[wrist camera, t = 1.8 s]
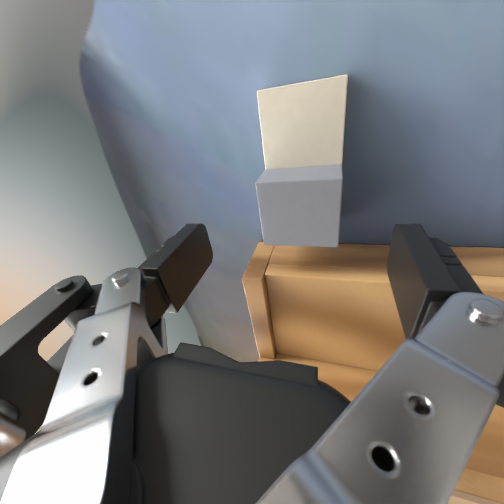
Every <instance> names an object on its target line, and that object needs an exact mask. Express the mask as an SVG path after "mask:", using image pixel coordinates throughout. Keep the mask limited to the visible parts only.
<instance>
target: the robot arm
mask: <svg viewBox="0 0 504 504" xmlns="http://www.w3.org/2000/svg"><path fill="white" fill-rule="evenodd" d="M212 259H213V252H212V248H211V244H210V241H209V237H208V234H207V230H206V227H205V226H204V224H186V225H185V226H184V227H183V228H182V229H181V230H180V231H179V232H178V233H177V234H176V235H174V236H173V237H171V238H169V239H168V240H167V241H166V242H165V243H164V244H163V245H162V246H160V247H159V248H158V249H157V250H156V252H154V253H153V254H152V255H151V256H150V257H149V258H148V259H147V260H146V261H145V262H144V263H142V264H141V265H140V266H139V267H138V268H126V269H122V270H120V271H117V272H115V273H114V274H112V275H110V276H109V277H108V278H107V279H106V280H105V281H104V282H103V284H98V285H92V286H91V285H90V284H89V282H88V281H87V279H86V278H85V277H84V276H73V277H70V278H67V279H64V280H62V281H60V282H59V283H57V284H55V285H54V286H52V287H51V288H50V289H48V290H47V291H46V292H44V293H43V294H42V295H40V296H39V297H38V298H36V299H35V300H34V301H32V302H31V303H30V304H28V305H27V306H26V307H25V308H23V309H22V310H21V311H19V312H18V313H17V314H16V315H14V316H13V317H11V318H10V319H9V320H7V321H6V322H5V323H4V324H2V325H1V326H0V504H448V502H449V500H450V498H451V496H452V494H453V492H454V489H455V487H456V485H457V483H458V481H459V479H460V477H461V475H462V473H463V471H464V469H465V467H466V465H467V462H468V460H469V458H470V456H471V454H472V452H473V450H474V448H475V446H476V444H477V442H478V440H479V438H480V435H481V433H482V431H483V429H484V427H485V425H486V423H487V421H488V419H489V417H490V415H491V413H492V411H493V408H494V406H495V404H496V405H498V406H500V407H503V408H504V302H503V301H501V300H499V299H497V298H494V297H491V296H488V295H485V294H483V292H482V291H481V290H480V288H479V287H478V285H477V284H476V282H475V281H474V280H473V278H472V277H471V275H470V274H469V273H468V271H467V270H466V268H465V267H464V266H462V263H461V261H460V260H459V258H457V256H456V254H455V253H454V251H453V250H452V249H451V247H450V246H449V245H447V244H445V243H444V242H442V241H441V240H439V239H438V238H429V237H428V236H427V234H426V232H425V231H424V229H423V227H422V226H421V225H420V224H396V225H395V227H394V230H393V235H392V239H391V244H390V249H389V254H388V259H387V274H388V278H389V281H390V285H391V289H392V292H393V296H394V299H395V303H396V306H397V310H398V314H399V317H400V321H401V324H402V328H403V332H404V335H405V339H406V340H405V341H404V342H403V343H402V344H401V345H400V346H399V347H398V349H397V350H396V351H395V352H394V353H393V354H392V356H391V357H390V358H389V359H388V360H387V361H386V362H385V364H384V365H383V366H382V367H381V368H380V369H379V371H378V372H377V373H376V374H375V375H374V376H373V377H372V379H371V380H370V381H369V382H368V383H367V384H366V386H365V387H364V388H363V389H362V390H361V391H360V392H359V394H358V395H357V396H356V397H355V398H354V399H353V401H352V402H351V401H350V400H349V399H348V398H347V397H345V396H344V395H343V394H342V393H340V392H339V391H338V390H336V389H335V388H333V387H332V386H330V385H328V384H327V383H325V382H323V381H321V380H318V367H315V366H309V365H304V364H298V363H293V362H287V361H282V360H273V361H259V362H238V361H235V360H233V359H231V358H229V357H227V356H225V355H224V354H222V353H220V352H218V351H216V350H214V349H212V348H209V347H204V346H198V345H192V344H187V343H180V344H179V346H178V348H177V349H176V351H175V353H171V354H168V347H167V337H166V325H165V319H164V317H163V314H164V313H165V311H166V312H173V313H178V311H179V309H180V308H181V307H182V305H183V304H184V302H185V301H186V299H187V298H188V296H189V295H190V293H191V292H192V291H193V289H194V288H195V286H196V285H197V283H198V282H199V280H200V279H201V277H202V276H203V274H204V273H205V271H206V270H207V269H208V267H209V266H210V264H211V262H212ZM63 320H65V322H66V323H67V324H68V325H69V326H70V327H71V328H72V330H73V331H74V334H73V336H72V337H71V338H70V339H69V340H68V341H67V342H66V343H65V344H64V345H63V346H62V347H61V348H60V349H59V350H58V351H57V352H56V353H55V354H54V355H53V356H52V357H51V358H50V359H49V360H48V361H47V362H46V361H45V360H44V359H43V358H42V357H41V356H40V355H39V354H38V346H39V344H40V342H41V341H42V340H43V338H45V337H46V336H47V335H48V334H49V333H50V332H51V331H52V330H53V329H54V328H55V327H56V326H58V325H59V324H60V323H61V322H62V321H63ZM42 424H43V426H42V428H41V430H40V431H39V432H37V433H36V431H37V430H38V429H39V428H40V426H41V425H42ZM35 433H36V434H35Z"/></svg>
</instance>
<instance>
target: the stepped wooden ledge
mask: <svg viewBox="0 0 504 504" xmlns="http://www.w3.org/2000/svg"><path fill="white" fill-rule="evenodd" d="M389 249H390V245H371V244H339V246H338V247H312V246H280V245H264V242H259V243H258V245H257V248H256V250H255V252H254V254H253V256H252V258H251V260H250V263H249V265H248V267H247V269H246V271H245V273H244V275H243V278H242V281H243V285H244V290H245V294H246V299H247V303H248V308H249V312H250V317H251V321H252V326H253V330H254V335H255V340H256V344H257V349H258V353H259V360H258V362H259V361H273V360H282V361H287V362H293V363H298V364H304V365H309V366H315V367H318V380H321V381H323V382H325V383H327V384H328V385H330V386H332V387H333V388H335V389H336V390H338V391H339V392H340V393H342V394H343V395H344V396H345V397H347V398H348V399H349V400H350V401H351V402H352V401H353V399H354V398H355V397H356V396H357V395H358V394H359V392H360V391H361V390H362V389H363V388H364V387H365V386H366V384H367V383H368V382H369V381H370V380H371V379H372V377H373V376H374V375H375V374H376V373H377V372H378V371H379V369H380V368H381V367H382V366H383V365H384V364H385V362H386V361H387V360H388V359H389V358H390V357H391V356H392V354H393V353H394V352H395V351H396V350H397V349H398V347H399V346H400V345H401V344H402V343H403V342H404V341H405V340H406V339H405V335H404V332H403V328H402V324H401V321H400V317H399V314H398V310H397V306H396V303H395V299H394V296H393V292H392V289H391V285H390V281H389V278H388V274H387V259H388V254H389ZM451 249H452V250H453V251H454V253H455V254H456V256H457V258H459V260H460V261H461V263H462V266H464V267H465V268H466V270H467V271H468V273H469V274H470V275H471V277H472V278H473V280H474V281H475V282H476V284H477V285H478V287H479V288H480V290H481V291H482V292H483V294H485V295H488V296H491V297H494V298H497V299H499V300H501V301H503V302H504V248H483V247H451ZM448 504H504V408H503V407H500V406H498V405H496V404H495V406H494V408H493V411H492V413H491V415H490V417H489V419H488V421H487V423H486V425H485V427H484V429H483V431H482V433H481V435H480V438H479V440H478V442H477V444H476V446H475V448H474V450H473V452H472V454H471V456H470V458H469V460H468V462H467V465H466V467H465V469H464V471H463V473H462V475H461V477H460V479H459V481H458V483H457V485H456V487H455V489H454V492H453V494H452V496H451V498H450V500H449V502H448Z"/></svg>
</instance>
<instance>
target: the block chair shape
mask: <svg viewBox="0 0 504 504" xmlns="http://www.w3.org/2000/svg"><path fill="white" fill-rule="evenodd" d="M347 83H348V75H341V76H335V77H330V78H324V79H318V80H313V81H307V82H302V83H296V84H290V85H285V86H279V87H274V88H268V89H262V90H258V91H257V98H258V107H259V116H260V125H261V134H262V143H263V152H264V161H265V171H264V172H263V174H262V175H261V176H260V178H259V179H258V180H257V182H256V191H257V198H258V206H259V213H260V220H261V227H262V234H263V242H264V245H280V246H312V247H338V246H339V232H340V218H341V204H342V190H343V170H342V159H343V144H344V129H345V113H346V98H347Z"/></svg>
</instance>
